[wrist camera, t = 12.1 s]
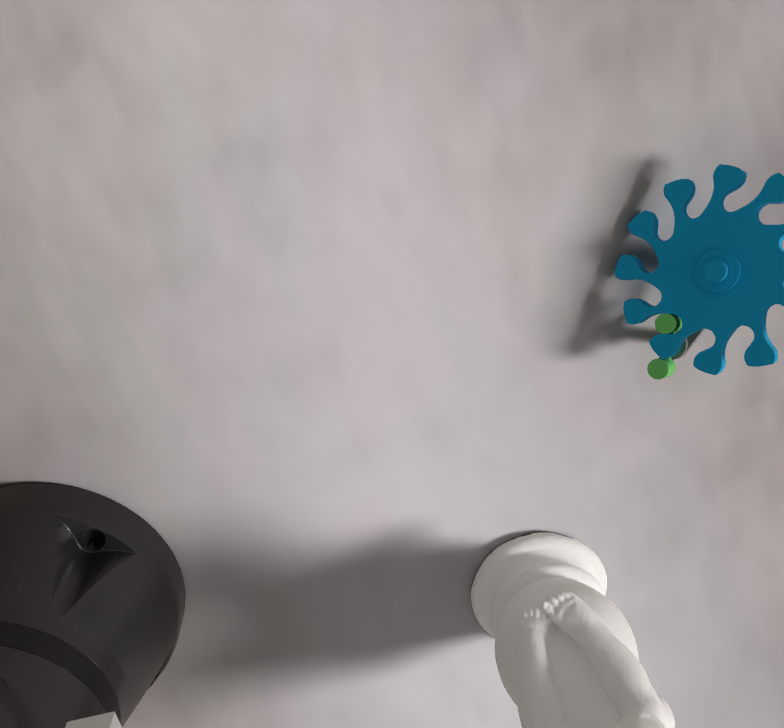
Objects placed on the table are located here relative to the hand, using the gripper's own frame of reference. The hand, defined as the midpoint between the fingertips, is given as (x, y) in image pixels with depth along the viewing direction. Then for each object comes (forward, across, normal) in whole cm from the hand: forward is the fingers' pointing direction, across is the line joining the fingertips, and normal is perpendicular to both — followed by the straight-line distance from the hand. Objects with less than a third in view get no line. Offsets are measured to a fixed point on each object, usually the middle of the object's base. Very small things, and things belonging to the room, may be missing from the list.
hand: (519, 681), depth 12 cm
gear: (+27, +16, -3) cm, 32 cm away
